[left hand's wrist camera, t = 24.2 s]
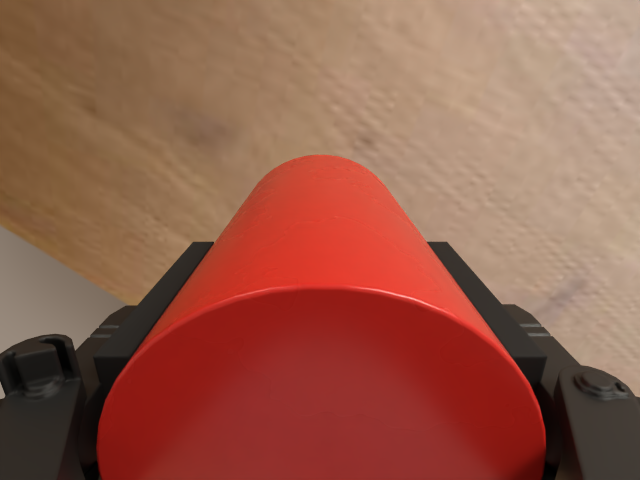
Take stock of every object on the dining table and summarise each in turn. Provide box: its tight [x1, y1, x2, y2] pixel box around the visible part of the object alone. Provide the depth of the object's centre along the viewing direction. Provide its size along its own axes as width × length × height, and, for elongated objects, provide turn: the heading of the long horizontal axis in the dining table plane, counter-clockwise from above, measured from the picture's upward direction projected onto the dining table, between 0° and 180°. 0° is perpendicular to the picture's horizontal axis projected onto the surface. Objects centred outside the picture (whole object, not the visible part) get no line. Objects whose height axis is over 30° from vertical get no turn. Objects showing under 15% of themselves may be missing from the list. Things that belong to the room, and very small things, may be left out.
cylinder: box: [96, 155, 546, 480], centre depth 13 cm, size 8×8×13 cm
